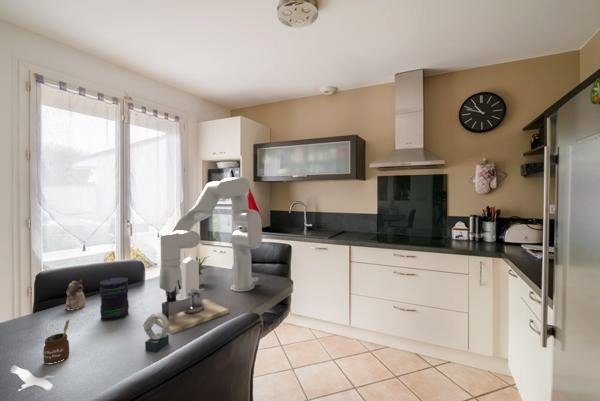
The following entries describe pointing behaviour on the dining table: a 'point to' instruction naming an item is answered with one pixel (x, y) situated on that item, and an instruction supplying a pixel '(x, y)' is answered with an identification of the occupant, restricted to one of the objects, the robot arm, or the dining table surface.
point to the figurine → (75, 296)
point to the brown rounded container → (56, 346)
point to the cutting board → (194, 317)
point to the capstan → (184, 304)
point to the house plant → (201, 269)
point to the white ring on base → (157, 339)
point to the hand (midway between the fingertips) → (171, 305)
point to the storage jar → (114, 298)
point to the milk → (190, 275)
